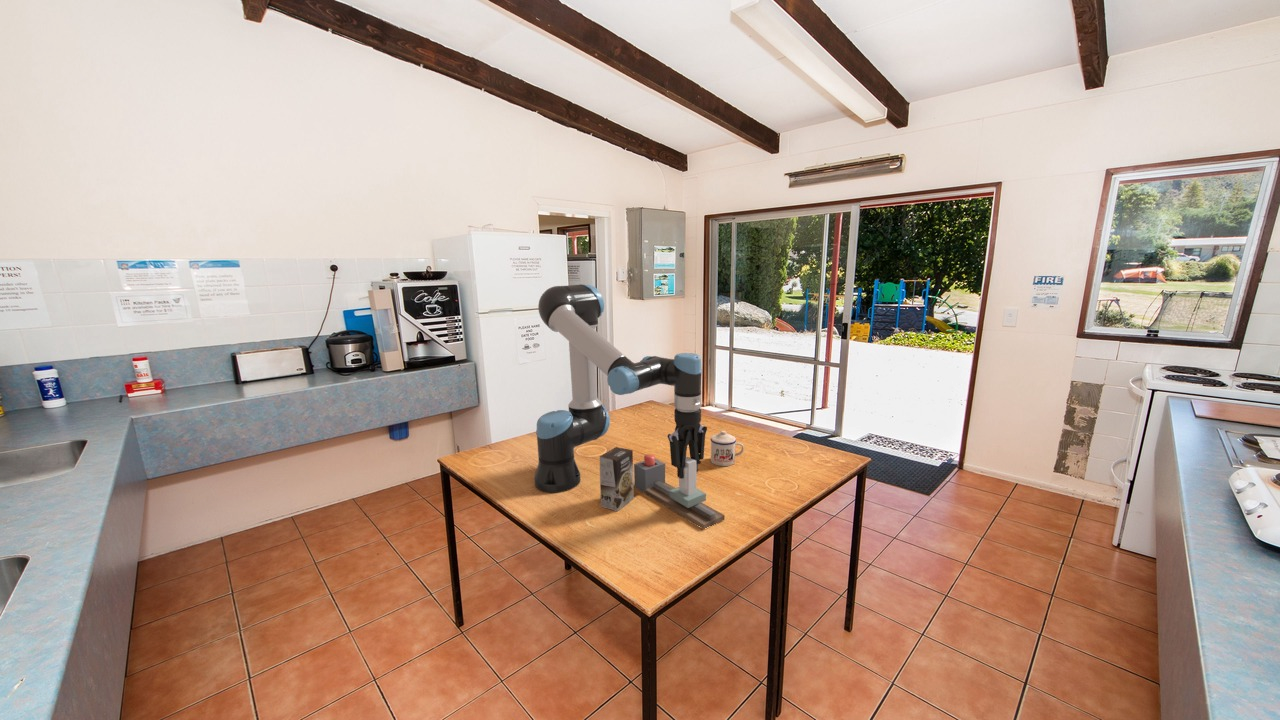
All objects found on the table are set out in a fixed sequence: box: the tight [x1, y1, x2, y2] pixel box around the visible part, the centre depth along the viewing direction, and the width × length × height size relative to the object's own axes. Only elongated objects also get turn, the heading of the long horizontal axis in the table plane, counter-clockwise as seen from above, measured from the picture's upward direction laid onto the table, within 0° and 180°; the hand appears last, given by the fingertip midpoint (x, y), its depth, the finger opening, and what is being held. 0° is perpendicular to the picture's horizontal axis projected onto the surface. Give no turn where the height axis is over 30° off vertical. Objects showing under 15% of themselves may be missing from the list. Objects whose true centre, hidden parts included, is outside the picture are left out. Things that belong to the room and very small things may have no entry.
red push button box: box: [633, 458, 666, 495], centre depth 151 cm, size 8×6×8 cm
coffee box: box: [599, 446, 634, 512], centre depth 140 cm, size 9×6×16 cm
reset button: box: [643, 453, 656, 468], centre depth 150 cm, size 3×3×5 cm
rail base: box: [645, 481, 725, 530], centre depth 139 cm, size 8×26×3 cm, turn 37°
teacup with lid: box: [710, 430, 745, 467], centre depth 169 cm, size 12×9×12 cm
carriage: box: [670, 456, 707, 508], centre depth 136 cm, size 7×8×12 cm
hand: (687, 485), depth 136 cm, fingers closed on carriage, 3 cm apart
